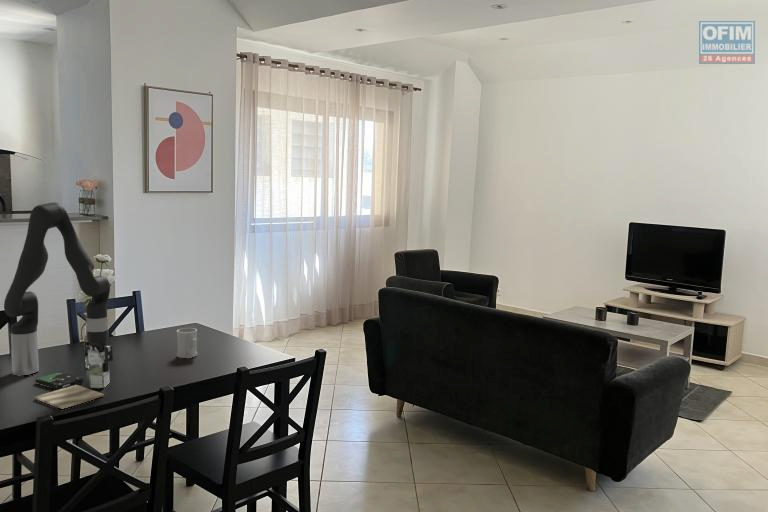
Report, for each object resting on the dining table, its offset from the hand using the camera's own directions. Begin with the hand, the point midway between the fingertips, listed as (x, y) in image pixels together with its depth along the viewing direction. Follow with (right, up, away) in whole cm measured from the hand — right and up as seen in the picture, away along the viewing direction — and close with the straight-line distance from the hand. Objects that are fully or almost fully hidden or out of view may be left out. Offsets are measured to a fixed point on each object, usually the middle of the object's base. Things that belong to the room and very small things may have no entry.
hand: (98, 369), depth 238 cm
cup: (+21, -2, +43) cm, 48 cm away
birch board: (-5, -8, -12) cm, 16 cm away
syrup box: (0, -7, +1) cm, 7 cm away
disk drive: (-17, -7, +3) cm, 18 cm away
